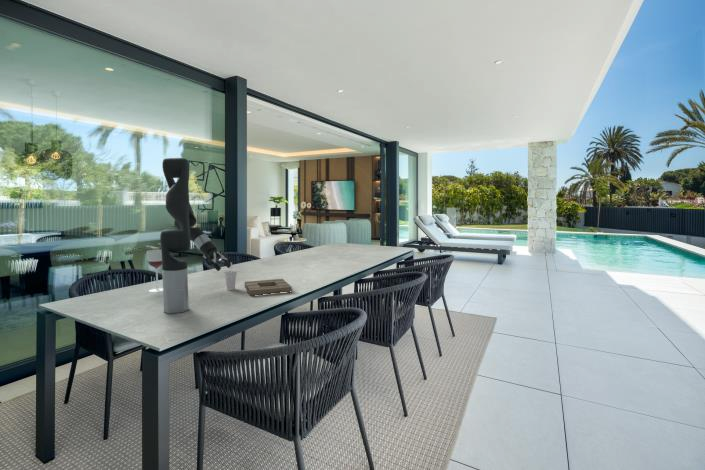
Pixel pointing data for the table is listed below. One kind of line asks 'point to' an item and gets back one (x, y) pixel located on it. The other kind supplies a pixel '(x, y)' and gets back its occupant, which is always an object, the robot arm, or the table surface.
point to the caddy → (267, 287)
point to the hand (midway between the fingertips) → (224, 268)
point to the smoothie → (230, 278)
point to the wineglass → (155, 264)
